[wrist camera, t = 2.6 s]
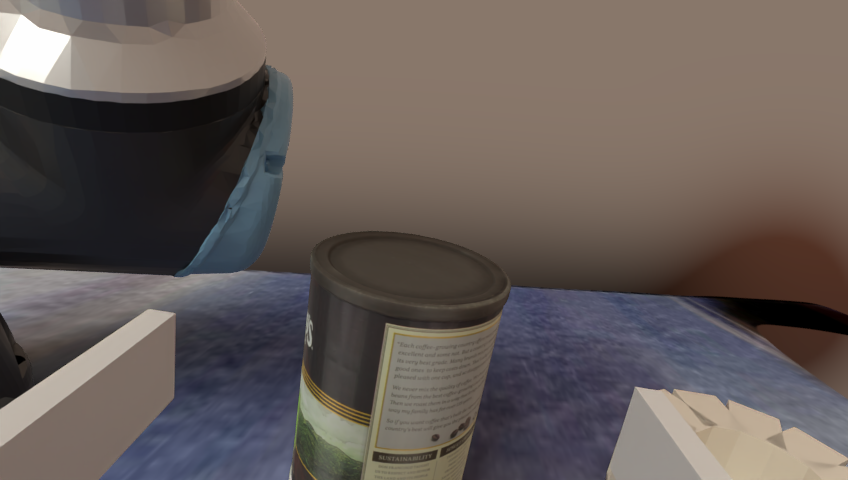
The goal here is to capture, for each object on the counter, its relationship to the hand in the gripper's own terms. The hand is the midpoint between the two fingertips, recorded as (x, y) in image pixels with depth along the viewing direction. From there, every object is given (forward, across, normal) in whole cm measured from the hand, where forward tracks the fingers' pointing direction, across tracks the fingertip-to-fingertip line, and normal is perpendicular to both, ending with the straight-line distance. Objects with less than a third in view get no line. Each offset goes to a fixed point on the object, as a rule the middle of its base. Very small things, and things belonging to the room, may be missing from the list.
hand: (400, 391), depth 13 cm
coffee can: (+12, 0, -14) cm, 18 cm away
